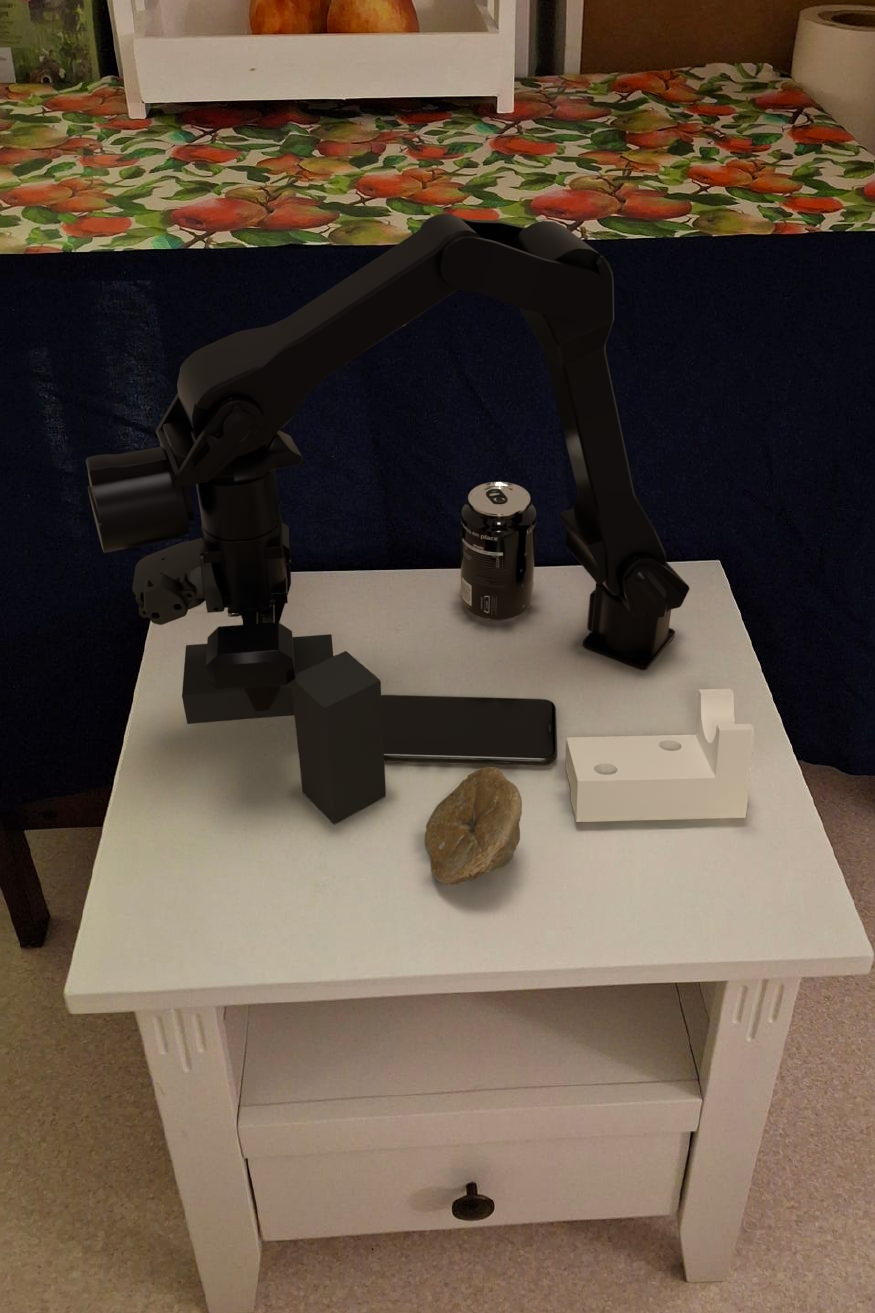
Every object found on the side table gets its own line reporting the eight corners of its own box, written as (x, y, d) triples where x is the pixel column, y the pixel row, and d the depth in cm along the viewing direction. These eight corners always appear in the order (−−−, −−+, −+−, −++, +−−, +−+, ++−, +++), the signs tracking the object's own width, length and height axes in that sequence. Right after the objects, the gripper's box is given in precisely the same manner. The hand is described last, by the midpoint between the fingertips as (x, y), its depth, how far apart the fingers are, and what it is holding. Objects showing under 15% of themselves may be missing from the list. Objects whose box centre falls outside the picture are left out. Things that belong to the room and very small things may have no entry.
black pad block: (353, 765, 99) (346, 650, 92) (386, 796, 97) (381, 680, 89) (302, 792, 97) (289, 676, 90) (334, 825, 94) (324, 708, 87)
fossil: (487, 744, 93) (529, 815, 84) (525, 773, 95) (569, 845, 86) (408, 826, 94) (440, 904, 85) (446, 853, 96) (482, 932, 87)
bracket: (723, 772, 100) (731, 688, 97) (745, 817, 93) (754, 729, 90) (565, 776, 100) (567, 692, 97) (576, 821, 93) (579, 733, 90)
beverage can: (513, 579, 120) (517, 472, 112) (544, 617, 115) (550, 508, 107) (449, 595, 118) (449, 487, 110) (478, 634, 113) (480, 524, 105)
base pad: (333, 661, 103) (331, 633, 101) (337, 712, 98) (335, 683, 96) (190, 672, 102) (185, 644, 100) (187, 724, 97) (181, 695, 95)
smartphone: (360, 763, 99) (557, 769, 99) (360, 755, 99) (558, 761, 98) (370, 700, 106) (555, 705, 105) (369, 692, 105) (556, 697, 104)
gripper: (140, 463, 96) (169, 621, 106) (118, 602, 82) (154, 770, 92) (281, 454, 97) (297, 611, 107) (285, 590, 83) (303, 757, 93)
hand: (262, 682), depth 100 cm, fingers closed on base pad, 6 cm apart
